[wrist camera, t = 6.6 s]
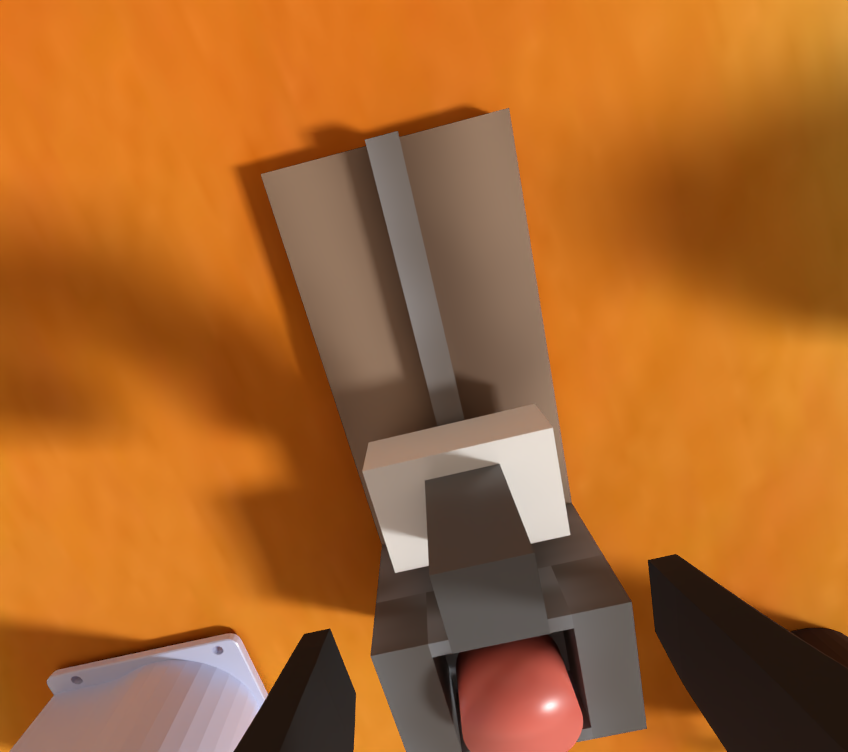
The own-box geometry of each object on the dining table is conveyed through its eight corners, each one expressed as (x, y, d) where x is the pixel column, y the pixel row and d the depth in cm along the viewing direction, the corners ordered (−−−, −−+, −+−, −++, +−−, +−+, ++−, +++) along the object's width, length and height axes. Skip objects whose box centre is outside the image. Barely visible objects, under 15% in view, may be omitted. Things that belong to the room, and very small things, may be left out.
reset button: (467, 711, 15) (475, 778, 13) (445, 635, 14) (450, 697, 12) (567, 691, 15) (590, 756, 13) (552, 613, 14) (574, 672, 12)
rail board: (406, 625, 20) (403, 775, 15) (260, 181, 14) (160, 141, 9) (579, 589, 20) (646, 728, 14) (502, 116, 14) (563, 30, 8)
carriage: (397, 534, 16) (388, 692, 11) (368, 442, 15) (341, 563, 9) (551, 500, 16) (628, 643, 10) (534, 403, 15) (611, 504, 9)
